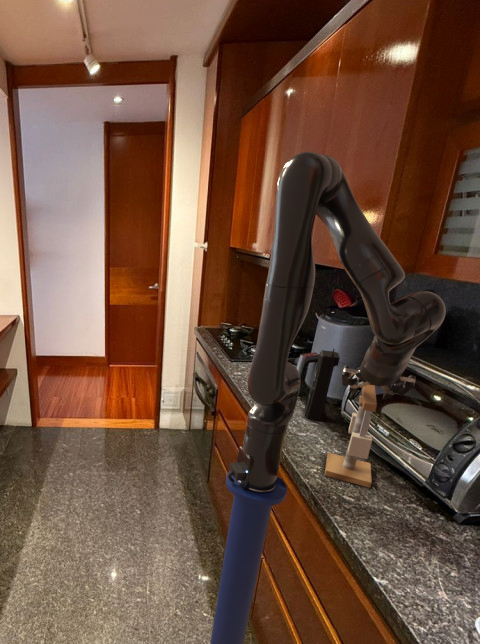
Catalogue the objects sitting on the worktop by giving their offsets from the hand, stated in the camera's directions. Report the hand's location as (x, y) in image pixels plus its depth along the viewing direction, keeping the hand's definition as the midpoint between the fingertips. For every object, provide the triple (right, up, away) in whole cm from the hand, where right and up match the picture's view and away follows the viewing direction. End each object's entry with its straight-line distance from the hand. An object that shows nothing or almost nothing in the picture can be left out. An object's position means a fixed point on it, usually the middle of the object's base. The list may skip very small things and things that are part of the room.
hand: (368, 393), depth 96 cm
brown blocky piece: (-1, -13, +3) cm, 13 cm away
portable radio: (+7, -9, +38) cm, 39 cm away
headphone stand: (-1, -21, +7) cm, 22 cm away
